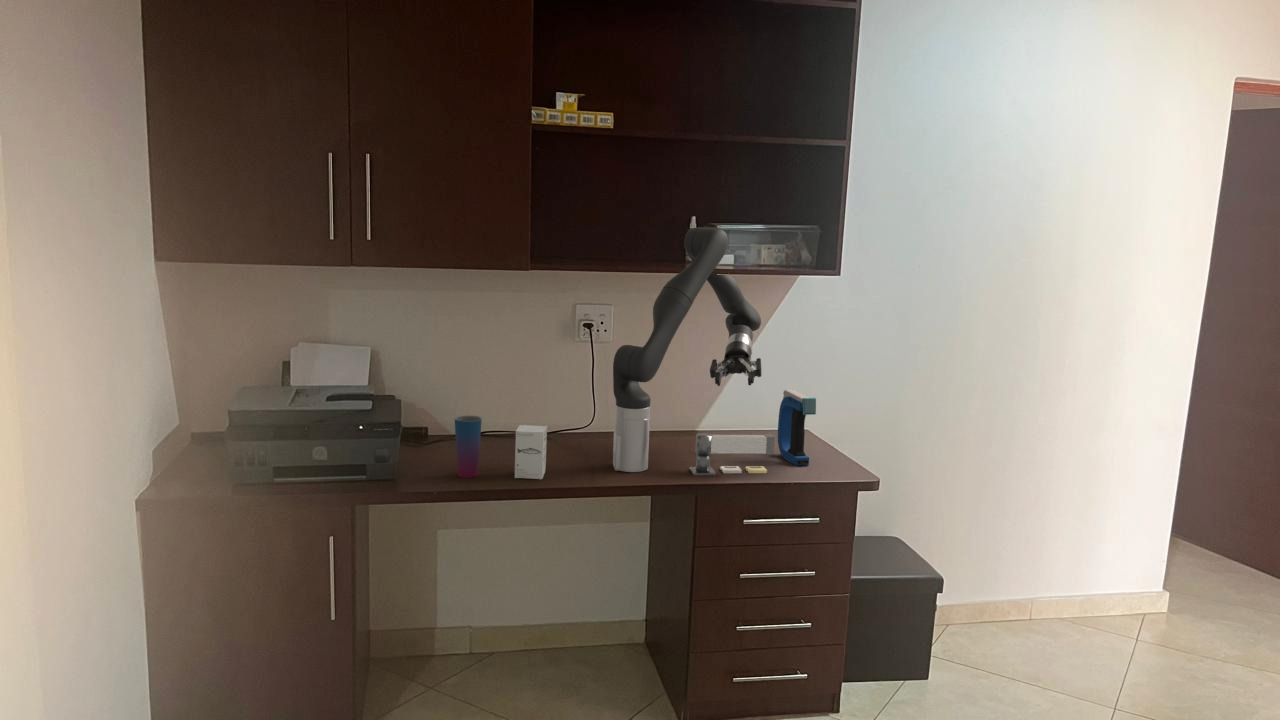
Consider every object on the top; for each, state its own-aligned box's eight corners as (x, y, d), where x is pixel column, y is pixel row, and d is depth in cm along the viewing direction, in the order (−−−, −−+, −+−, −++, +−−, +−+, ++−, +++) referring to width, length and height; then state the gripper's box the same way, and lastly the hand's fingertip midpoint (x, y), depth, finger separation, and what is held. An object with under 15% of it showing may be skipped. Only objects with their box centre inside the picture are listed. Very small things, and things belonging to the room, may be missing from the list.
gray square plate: (693, 475, 248) (694, 457, 247) (689, 469, 254) (690, 451, 253) (715, 475, 248) (716, 457, 248) (711, 469, 254) (712, 451, 254)
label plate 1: (723, 473, 251) (723, 469, 251) (720, 469, 255) (720, 465, 255) (741, 473, 251) (741, 470, 251) (738, 469, 255) (738, 465, 255)
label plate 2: (748, 473, 252) (749, 470, 252) (745, 469, 256) (745, 465, 255) (766, 473, 252) (767, 470, 252) (763, 469, 256) (763, 466, 256)
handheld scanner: (798, 468, 258) (804, 398, 255) (774, 453, 273) (780, 387, 270) (813, 468, 259) (819, 398, 256) (789, 453, 275) (794, 387, 272)
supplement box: (513, 478, 239) (514, 430, 237) (518, 470, 246) (519, 424, 244) (542, 480, 238) (543, 431, 236) (546, 472, 246) (547, 425, 244)
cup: (455, 471, 243) (456, 415, 241) (482, 471, 244) (482, 415, 241) (452, 478, 237) (452, 421, 234) (479, 479, 237) (480, 421, 235)
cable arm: (697, 454, 248) (697, 437, 247) (694, 450, 252) (694, 433, 251) (774, 455, 250) (775, 437, 250) (769, 450, 255) (770, 433, 254)
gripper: (712, 340, 269) (706, 372, 256) (762, 339, 266) (758, 371, 253) (715, 362, 273) (709, 394, 260) (764, 361, 270) (760, 393, 257)
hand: (733, 383), depth 256 cm, fingers open, 8 cm apart
